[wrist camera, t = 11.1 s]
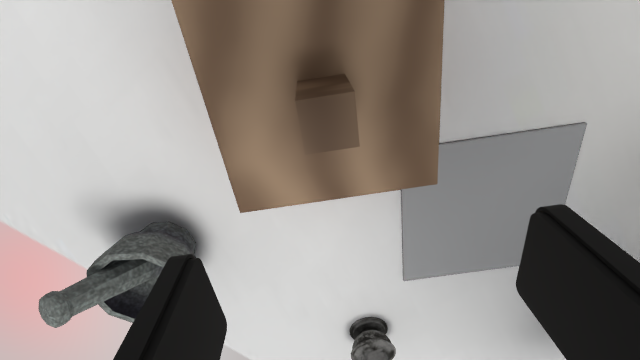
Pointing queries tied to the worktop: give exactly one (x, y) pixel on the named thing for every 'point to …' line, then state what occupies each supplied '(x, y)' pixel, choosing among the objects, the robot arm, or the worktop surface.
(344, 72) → the walnut lid
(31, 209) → the worktop surface
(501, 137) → the rubber mat
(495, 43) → the worktop surface
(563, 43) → the worktop surface
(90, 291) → the mortar and pestle
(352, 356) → the dark stone chess piece
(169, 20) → the worktop surface
